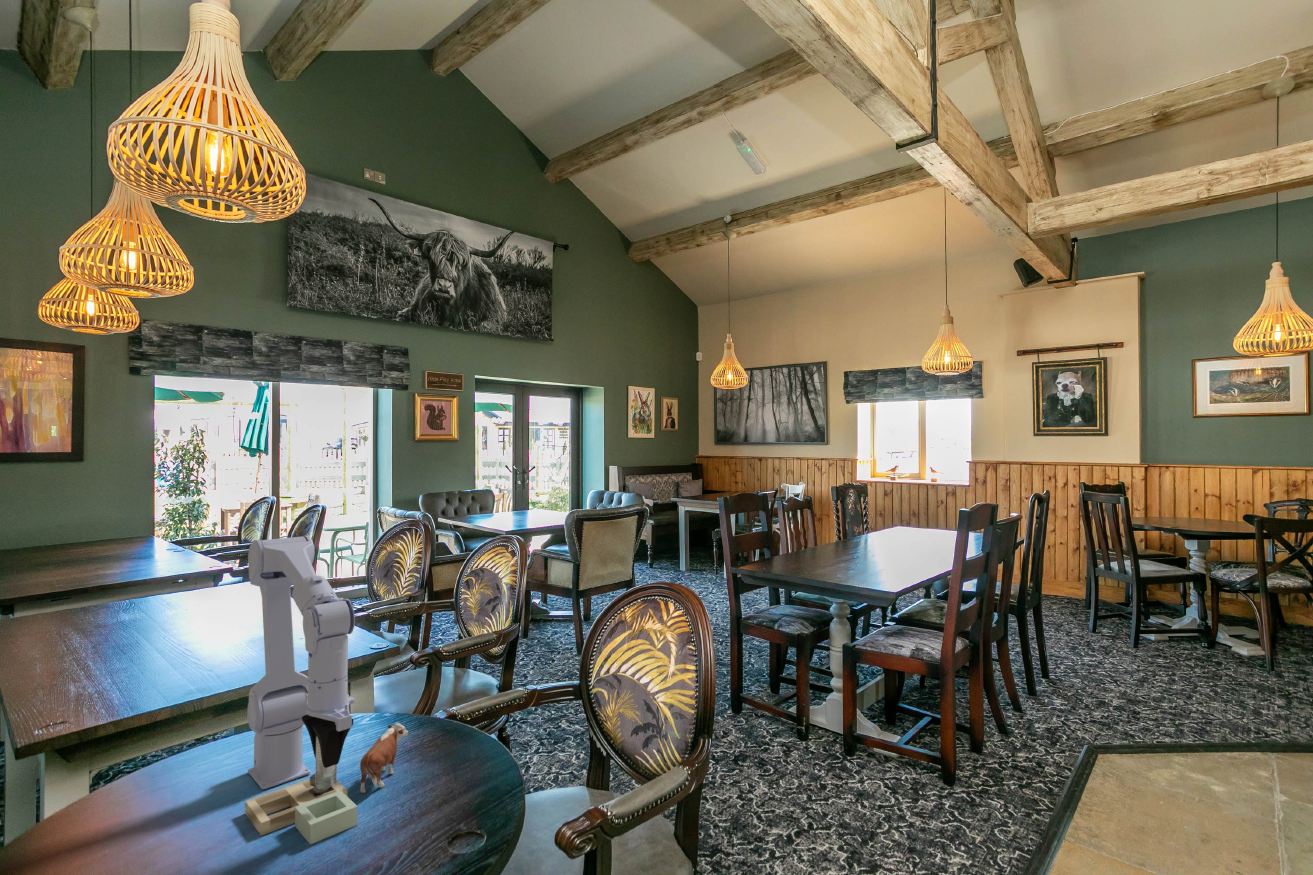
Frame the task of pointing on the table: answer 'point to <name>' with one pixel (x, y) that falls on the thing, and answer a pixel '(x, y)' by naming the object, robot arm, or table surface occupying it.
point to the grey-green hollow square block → (325, 816)
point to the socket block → (282, 805)
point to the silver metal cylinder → (323, 771)
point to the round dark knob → (317, 791)
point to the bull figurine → (381, 755)
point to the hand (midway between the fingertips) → (326, 761)
